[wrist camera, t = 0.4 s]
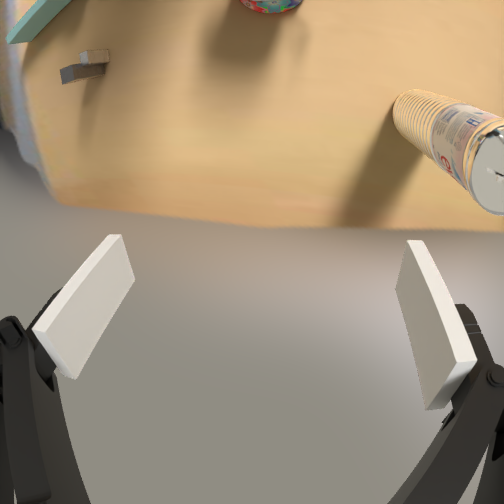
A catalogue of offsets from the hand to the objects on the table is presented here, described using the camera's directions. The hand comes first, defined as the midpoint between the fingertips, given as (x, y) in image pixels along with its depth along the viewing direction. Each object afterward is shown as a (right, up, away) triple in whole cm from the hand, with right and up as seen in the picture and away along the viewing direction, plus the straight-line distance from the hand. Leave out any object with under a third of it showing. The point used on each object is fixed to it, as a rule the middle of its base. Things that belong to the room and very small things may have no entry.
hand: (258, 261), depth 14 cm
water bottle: (+20, +17, +19) cm, 32 cm away
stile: (-21, +25, +20) cm, 38 cm away
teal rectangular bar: (-27, +35, +14) cm, 46 cm away
